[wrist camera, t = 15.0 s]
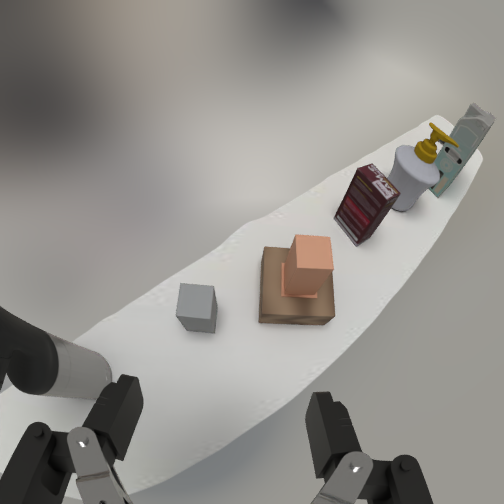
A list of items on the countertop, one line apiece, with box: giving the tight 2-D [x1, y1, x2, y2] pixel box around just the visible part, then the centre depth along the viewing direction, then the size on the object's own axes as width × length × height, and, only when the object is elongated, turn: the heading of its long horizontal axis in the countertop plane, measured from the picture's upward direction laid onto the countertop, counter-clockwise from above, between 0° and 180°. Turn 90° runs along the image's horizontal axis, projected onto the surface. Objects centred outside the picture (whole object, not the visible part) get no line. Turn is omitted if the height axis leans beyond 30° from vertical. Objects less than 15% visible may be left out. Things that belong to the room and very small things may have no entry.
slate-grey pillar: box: [176, 283, 217, 333], centre depth 43 cm, size 5×5×10 cm
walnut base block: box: [259, 247, 335, 325], centre depth 48 cm, size 12×12×6 cm
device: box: [429, 103, 496, 198], centre depth 58 cm, size 16×8×30 cm, turn 127°
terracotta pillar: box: [284, 235, 334, 295], centre depth 41 cm, size 5×5×10 cm
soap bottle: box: [387, 123, 459, 211], centre depth 54 cm, size 13×13×25 cm
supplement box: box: [334, 164, 401, 246], centre depth 52 cm, size 9×5×16 cm, turn 30°
